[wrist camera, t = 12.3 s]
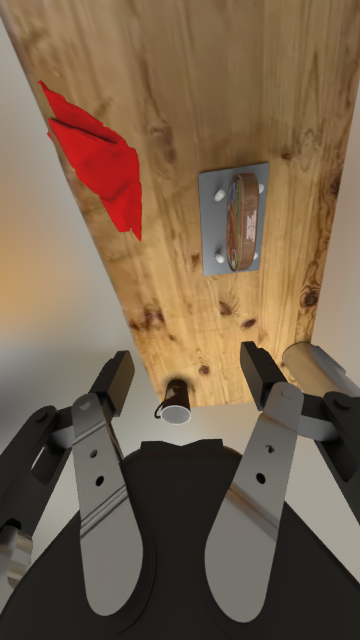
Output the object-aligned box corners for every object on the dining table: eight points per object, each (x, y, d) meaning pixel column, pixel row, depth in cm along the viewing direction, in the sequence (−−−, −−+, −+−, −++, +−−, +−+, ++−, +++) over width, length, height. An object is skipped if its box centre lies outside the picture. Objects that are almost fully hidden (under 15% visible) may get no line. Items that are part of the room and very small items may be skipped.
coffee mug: (188, 376, 55) (189, 404, 46) (191, 394, 59) (192, 423, 50) (152, 378, 56) (146, 407, 47) (158, 396, 60) (153, 425, 51)
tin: (226, 180, 31) (240, 165, 23) (245, 177, 30) (264, 162, 23) (226, 267, 38) (236, 277, 30) (240, 265, 37) (254, 275, 30)
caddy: (266, 164, 30) (284, 151, 25) (257, 269, 39) (268, 275, 33) (198, 175, 31) (200, 164, 26) (203, 274, 40) (206, 282, 34)
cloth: (165, 234, 36) (164, 234, 34) (109, 256, 39) (105, 257, 37) (100, 43, 25) (93, 27, 23) (26, 92, 27) (13, 81, 25)
